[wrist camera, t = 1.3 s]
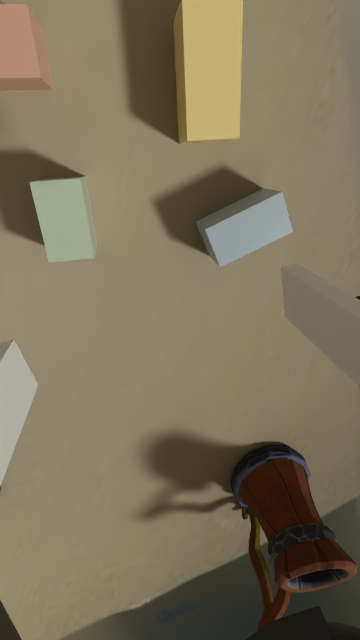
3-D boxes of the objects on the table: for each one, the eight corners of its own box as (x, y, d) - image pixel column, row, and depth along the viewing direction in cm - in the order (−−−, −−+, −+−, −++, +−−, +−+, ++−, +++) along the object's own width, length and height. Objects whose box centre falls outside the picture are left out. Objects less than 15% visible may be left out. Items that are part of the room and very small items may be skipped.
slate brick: (208, 255, 33) (220, 267, 29) (195, 221, 31) (204, 229, 27) (273, 223, 32) (292, 231, 29) (262, 188, 31) (282, 191, 27)
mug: (261, 528, 54) (307, 647, 41) (199, 521, 51) (226, 650, 37) (318, 449, 48) (393, 560, 34) (250, 436, 44) (305, 554, 31)
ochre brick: (224, 141, 28) (239, 138, 25) (178, 143, 28) (187, 141, 24) (225, 21, 25) (242, -3, 21) (173, 22, 24) (181, -4, 21)
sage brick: (97, 246, 31) (94, 258, 27) (58, 250, 30) (48, 262, 26) (85, 176, 28) (80, 178, 24) (41, 179, 27) (29, 182, 24)
